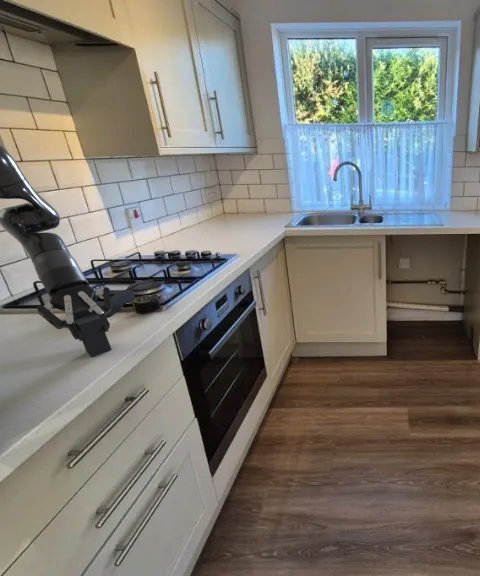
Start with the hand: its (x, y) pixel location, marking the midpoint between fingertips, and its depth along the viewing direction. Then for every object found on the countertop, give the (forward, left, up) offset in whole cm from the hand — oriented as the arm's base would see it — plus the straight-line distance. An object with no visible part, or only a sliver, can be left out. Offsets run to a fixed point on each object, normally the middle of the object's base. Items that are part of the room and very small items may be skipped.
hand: (94, 334), depth 82 cm
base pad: (+17, +24, -5) cm, 29 cm away
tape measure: (+21, +10, -5) cm, 23 cm away
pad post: (+1, +2, -5) cm, 5 cm away
